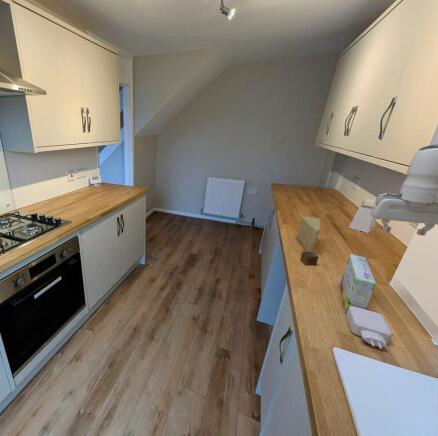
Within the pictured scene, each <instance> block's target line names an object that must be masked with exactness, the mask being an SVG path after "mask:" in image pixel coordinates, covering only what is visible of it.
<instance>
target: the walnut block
mask: <svg viewBox="0 0 438 436" xmlns="http://www.w3.org/2000/svg"><path fill="white" fill-rule="evenodd" d="M300 260H301V261H302V262H303V263H302V262H301V261H300ZM299 261H300V262H301V263H302V264H304V265H305V266H307V265H313V266H312V267H315V266H317V264H318V261H319V256H318V255H317V254H316V253H315V252H314V251H313V252H306V251H302V252H301V256H300V259H299Z"/></svg>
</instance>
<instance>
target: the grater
mask: <svg viewBox="0 0 438 436" xmlns="http://www.w3.org/2000/svg"><path fill="white" fill-rule="evenodd" d="M365 201H366V202H371V203H376V200H371V199H365V200H362V202H361V204H360V206H359V207H358V209H357V211H356V213H355V215H354V217H353V219H352V221H351V222H350V224H349V227H348V229H349V228H352V229H351V230H353V229H356V230H355V231H357V230H359V231H358V232H360V231H363V232H362V233H364V232H366V233H365V234H367V233H368V234H370V233H372V232H373V231H375V225H376V221H377V219H376V218H374V217H373V216H372V215H371V211H372V209H373V207H374V206H372V205H366V204H365ZM372 230H373V231H372ZM371 231H372V232H371ZM369 232H370V233H369Z"/></svg>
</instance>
